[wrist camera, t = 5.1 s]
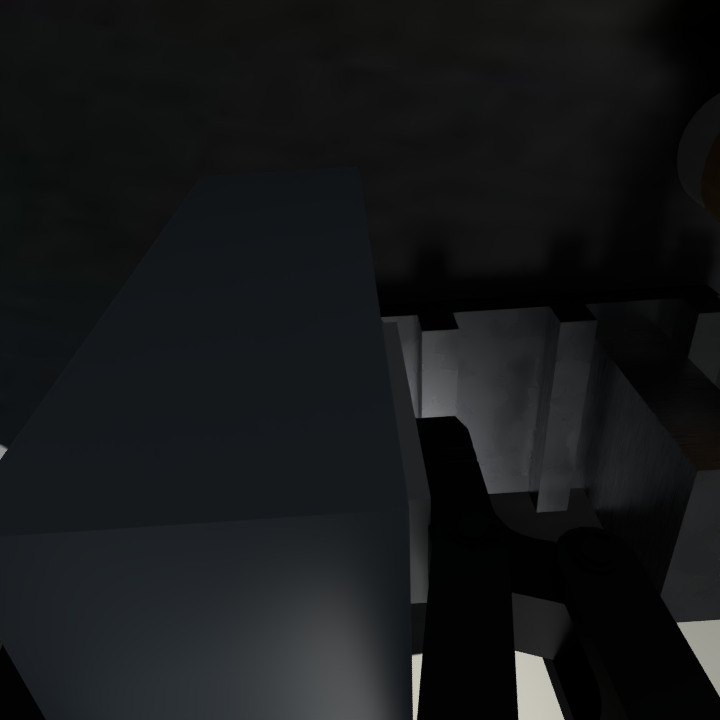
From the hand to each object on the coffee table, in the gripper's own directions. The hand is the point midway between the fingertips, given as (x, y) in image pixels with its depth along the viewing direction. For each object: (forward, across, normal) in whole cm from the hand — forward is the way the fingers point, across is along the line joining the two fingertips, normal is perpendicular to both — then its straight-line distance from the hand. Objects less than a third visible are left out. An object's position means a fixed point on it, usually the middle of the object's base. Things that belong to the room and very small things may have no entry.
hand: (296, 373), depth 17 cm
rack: (+18, +10, -14) cm, 25 cm away
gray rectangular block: (+2, 0, 0) cm, 2 cm away
